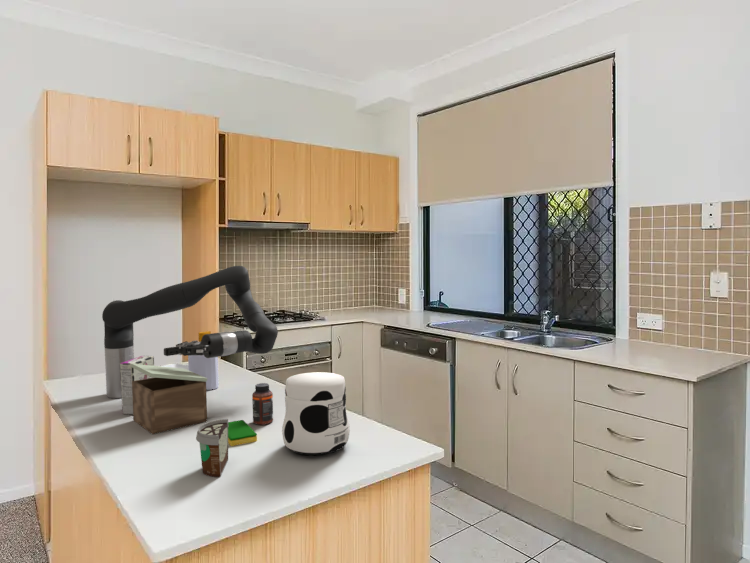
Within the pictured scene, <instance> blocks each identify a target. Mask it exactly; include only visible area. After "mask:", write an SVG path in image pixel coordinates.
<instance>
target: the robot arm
mask: <svg viewBox="0 0 750 563" xmlns="http://www.w3.org/2000/svg"><path fill="white" fill-rule="evenodd" d="M221 287H224V288H225V291H226V293H227V294H228V296H229V297H230V298H231V299H232V300H233V302H234V303H235V304H236V306H237V307H238V308H239V311H240V313H241V315H242V317H243V319H244V321H245V323H246V326H247V327H248V329H249V330H250V331H251V332H253V333H255V334H254V337H253V336H252V334H251V332H249V330H245V329H244V330H236V331H235V330H234V331H221V332H213V333H212V332H211V334H205V335H204V336H203V337H202V340H201V342H199V340H192V341H187V340H186V341H182V342H180V343H177V344H175V346H171V347H164V348H163V355H164V356H165V357H170V356H177V355H178V356H184V357H185V356H187V357H188V356H189V355H204V356H205V357H206V358H213V357H218V358H219V357H225V356H229V355H233V354H239V353H245V352H246V353H253V354H261V355H265V354H267V353H268V354H269V353H270V352H271V351H272V350H273V348H274V346H275V344H276V341H277V338H278V335H279V334H278V333H279V332H278V328H277V325H275V323H274V322H272V320H270V319H269V318H268V317H267V316H266V314H265V311H264V310H263V308H262V306H261V305H260V304H259V303H258V302H256V301H255V299H254V298H253V295H252V290H251V281H250V276H249V271H248V269H247V268H246V267H245V266H242V265H233V266H228V267H225V268H224V269H221V270H217V271H215V272H212V273H211V274H207V275H204V276H201V277H198V278H195V279H192V280H188V281H184V282H180V283H176V284H173V285H170V286H166V287H163V288H161V289H158V290H156V291H153V292H152V293H149V294H148V295H145V296H142V297H139V298H134V299H130V300H120V299H119V300H112V301H111V302H109V303H108V304H107V305H106V306H105V307H104V309H103V311H102V314H101V315H102V317H101V318H102V321H103V324H104V326H103V327H104V328H103V329H104V339H103V340H104V341H103V342H104V343H103V345H104V361H105V362H104V363H105V364H104V366H105V384H106V385H105V387H106V389H105V390H106V397H107V398H109V399H122V394H121V377H120V363H123V362H126V361H128V360H131V359H134V358H135V349H134V347H135V346H134V345H135V344H134V323H136V322H139V321H142V320H144V319H147V318H151V317H155V316H159V315H160V316H161V315H165V314H169V313H173V312H178V311H181V310H184V309H187V308H191V307H193V306H195V305H197V304H198V303H199V302H200V301H201V300H202V299H203V298H204V297H205V296H207V295H208V294H209V293H210V292H212V291H213V290H216V289H217V288H221Z"/></svg>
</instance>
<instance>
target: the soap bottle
mask: <svg viewBox="0 0 750 563" xmlns="http://www.w3.org/2000/svg"><path fill="white" fill-rule="evenodd" d="M205 334H212V331H210V330H209V331H208V330H207V331H201V332H200V331H199V332H198V342H201V340H202V337H203V336H204V335H205ZM187 358H188V360H187V362H188V363H187V365H188V367H189V371H191V372H193V373H196V374H198V375H201V376H203V377H205V378H207V382H206V391H212V389H213V390H217V389H219V384H220V383H219V381H220V380H219V357H213V358H206V357H205V356H204V355H189V356H188V355H187Z"/></svg>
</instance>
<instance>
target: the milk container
mask: <svg viewBox="0 0 750 563" xmlns="http://www.w3.org/2000/svg"><path fill="white" fill-rule="evenodd" d="M346 390H347V389H346V380H345V376H343V375H341V374H338V373H333V372H326V371H325V372H324V371H321V372H320V371H319V372H317V371H315V372H304V373H297V374H295V375H290V376H289V377H287V378H286V381H285V386H284V391H285V392H284V394H285V395H284V403H285V406H284V407H285V413H284V419H283V424H282V426H281V427H282V430H281V432H282V440H283V444H284V446H285V447H286V448H287V449H288V450H289V451H291V452H294V453H295V454H298V455H307V456H319V455H328V454H330V453H334V452H337V451H339V450H341V449H342V448H344V447H345V446H346V445H347V443H348V441H349V439H350V431H351V430H350V421H349V417H348V414H347V413H348V412H347V407H346V406H347V404H346V403H347V394H346Z"/></svg>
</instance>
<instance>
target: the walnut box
mask: <svg viewBox="0 0 750 563" xmlns="http://www.w3.org/2000/svg"><path fill="white" fill-rule="evenodd" d="M132 396H133V415H132V416H133V420H132V421H134V422H135V423H136V424H137V425H139V426H140V427H141V428H143V429H145V430H146V431H147V432H148V433H150V434H151V433H152V434H151V435H155V433H156V434H159V432H160V433H164V432H168V431H167V430H169V431H172V430H171V429H173V430H176V429H175V428H177V429H180V427H181V428H185V426H186V427H189V425H190V426H194V425H198V424H201V423H207V422H208V405H207V401H208V399H207V390H206V382H204V381H192V380H180V379H168V378H156V377H154V378H148V379H143V380H137V381H132ZM206 421H207V422H206ZM193 424H194V425H193ZM163 431H164V432H163Z"/></svg>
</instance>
